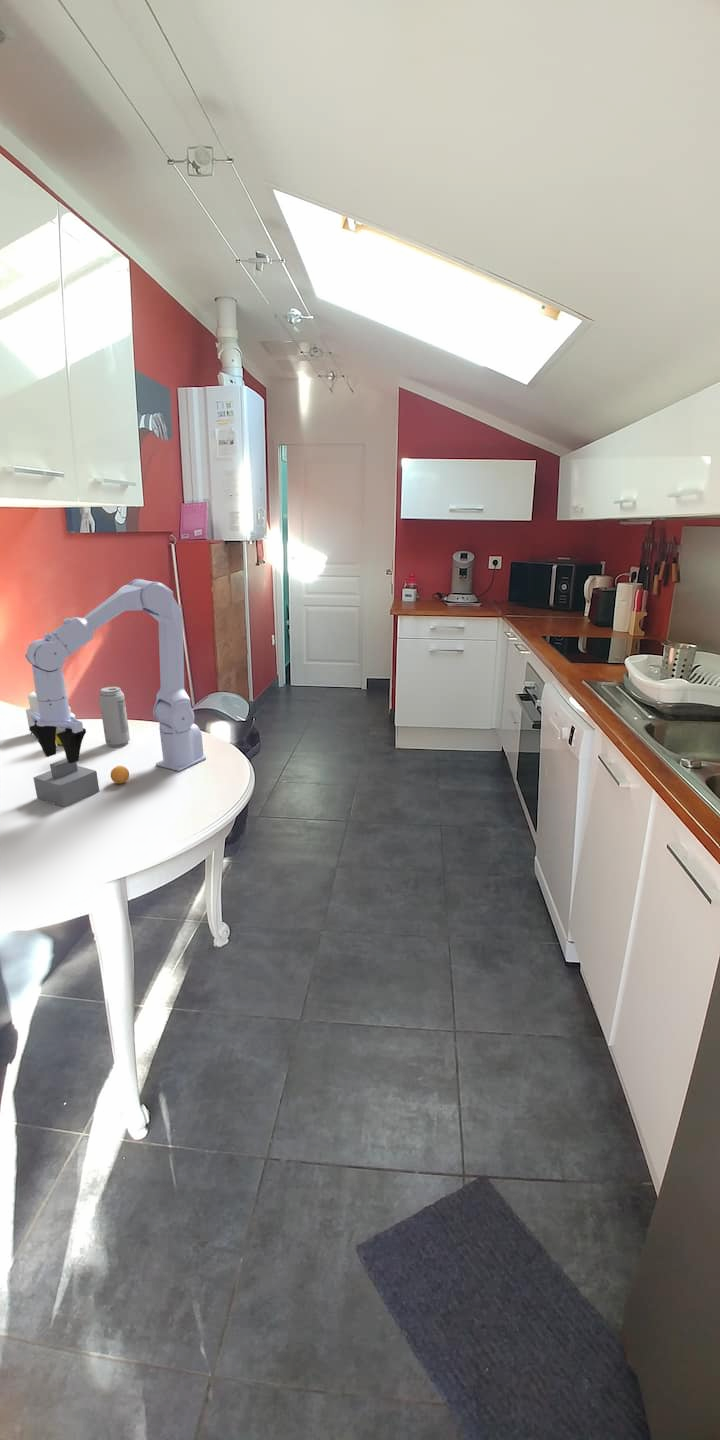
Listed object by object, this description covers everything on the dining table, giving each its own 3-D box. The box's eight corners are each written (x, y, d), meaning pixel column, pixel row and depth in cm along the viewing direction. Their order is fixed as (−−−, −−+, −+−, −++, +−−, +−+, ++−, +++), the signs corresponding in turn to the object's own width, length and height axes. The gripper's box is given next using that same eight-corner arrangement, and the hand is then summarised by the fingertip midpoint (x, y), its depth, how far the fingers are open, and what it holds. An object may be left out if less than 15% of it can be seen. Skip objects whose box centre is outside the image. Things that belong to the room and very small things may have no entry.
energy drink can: (111, 740, 180) (103, 685, 175) (133, 739, 180) (126, 685, 175) (102, 748, 174) (94, 692, 169) (125, 747, 174) (118, 692, 169)
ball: (122, 778, 155) (119, 762, 154) (134, 781, 153) (131, 765, 152) (107, 784, 152) (105, 767, 151) (120, 787, 150) (117, 771, 149)
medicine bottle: (56, 727, 190) (49, 686, 186) (64, 734, 185) (57, 692, 181) (29, 733, 186) (22, 691, 182) (37, 740, 181) (29, 697, 177)
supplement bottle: (68, 740, 180) (62, 703, 177) (84, 743, 178) (78, 706, 174) (51, 747, 175) (45, 709, 172) (67, 750, 173) (61, 712, 170)
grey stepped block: (73, 783, 153) (67, 750, 150) (99, 791, 148) (94, 758, 146) (37, 798, 146) (30, 764, 143) (63, 807, 141) (57, 772, 139)
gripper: (13, 697, 140) (24, 758, 145) (57, 707, 133) (67, 771, 137) (43, 689, 146) (53, 748, 150) (87, 698, 139) (96, 759, 143)
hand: (62, 758), depth 144 cm, fingers open, 7 cm apart
